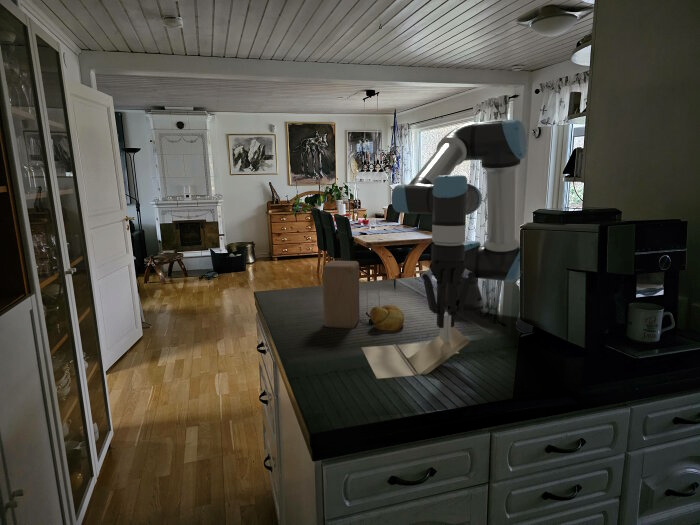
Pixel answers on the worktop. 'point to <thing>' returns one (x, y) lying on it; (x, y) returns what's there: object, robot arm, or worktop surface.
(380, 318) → the bread roll
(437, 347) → the near plank
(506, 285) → the worktop surface
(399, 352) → the laid board
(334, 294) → the wooden block
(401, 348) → the far plank
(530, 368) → the worktop surface
